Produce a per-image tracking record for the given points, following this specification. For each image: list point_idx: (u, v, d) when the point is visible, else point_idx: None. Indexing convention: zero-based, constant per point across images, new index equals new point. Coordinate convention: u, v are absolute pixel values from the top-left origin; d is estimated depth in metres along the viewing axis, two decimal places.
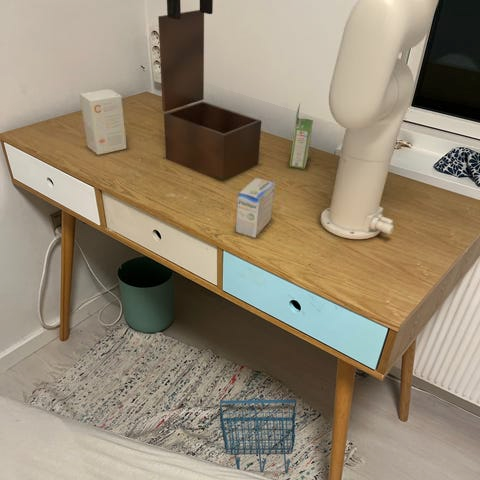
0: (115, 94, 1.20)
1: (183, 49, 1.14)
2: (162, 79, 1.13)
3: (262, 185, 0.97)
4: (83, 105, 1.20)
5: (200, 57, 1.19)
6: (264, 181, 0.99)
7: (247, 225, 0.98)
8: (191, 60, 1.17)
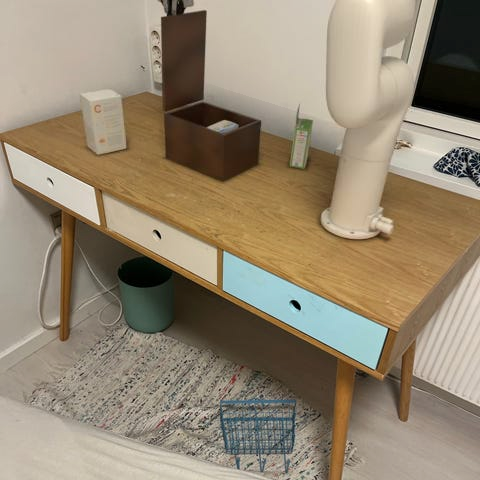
0: (115, 94, 1.20)
1: (185, 50, 1.14)
2: (163, 79, 1.13)
3: (226, 125, 1.18)
4: (83, 105, 1.20)
5: (201, 57, 1.19)
6: (230, 122, 1.20)
7: None
8: (192, 60, 1.17)
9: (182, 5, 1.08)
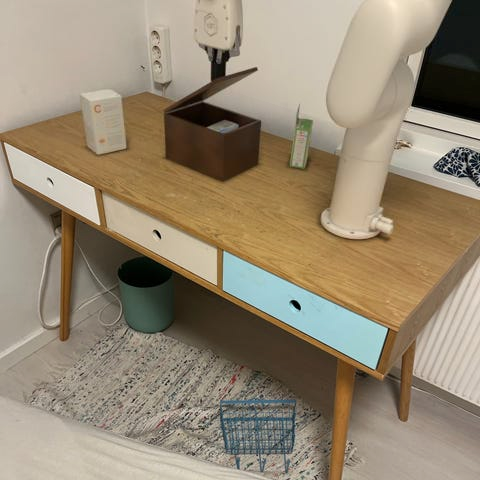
0: (115, 94, 1.20)
1: (217, 88, 1.13)
2: (182, 101, 1.13)
3: (226, 125, 1.18)
4: (83, 105, 1.20)
5: (226, 87, 1.18)
6: (230, 122, 1.20)
7: None
8: (216, 90, 1.16)
9: (228, 54, 1.06)
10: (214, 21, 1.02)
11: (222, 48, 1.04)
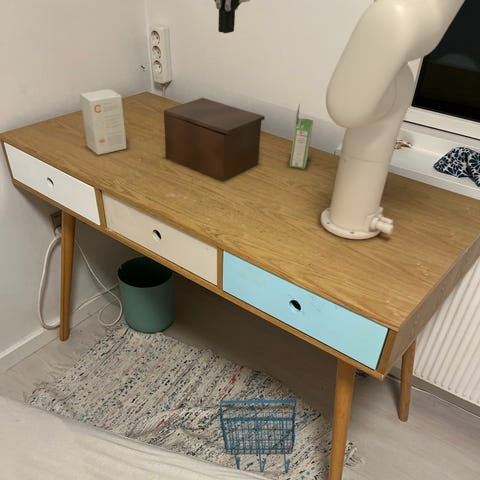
0: (115, 94, 1.20)
1: None
2: (185, 119, 1.15)
3: None
4: (83, 105, 1.20)
5: None
6: None
7: None
8: None
9: (237, 0, 0.99)
10: None
11: None
